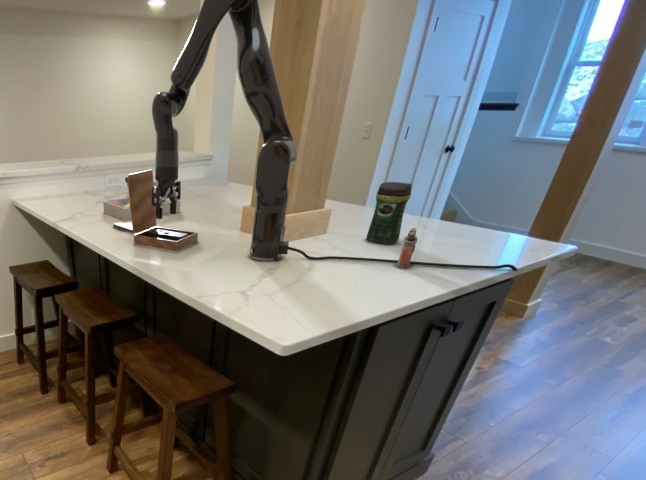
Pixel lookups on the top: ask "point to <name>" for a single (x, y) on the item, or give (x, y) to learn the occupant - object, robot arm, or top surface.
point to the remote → (165, 234)
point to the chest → (166, 244)
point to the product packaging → (123, 211)
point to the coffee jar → (389, 212)
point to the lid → (141, 200)
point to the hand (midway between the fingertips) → (166, 216)
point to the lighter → (407, 249)
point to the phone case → (125, 226)
